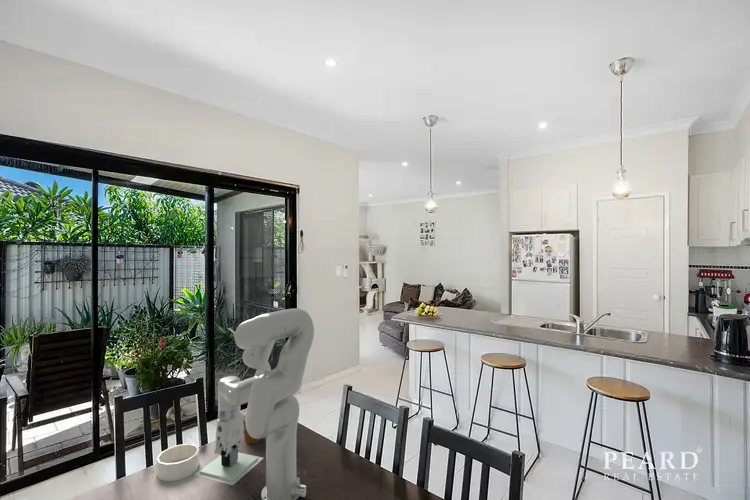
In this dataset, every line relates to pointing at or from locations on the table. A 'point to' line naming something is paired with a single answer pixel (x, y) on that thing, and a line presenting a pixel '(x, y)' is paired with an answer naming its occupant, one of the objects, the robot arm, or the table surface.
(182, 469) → the bowl
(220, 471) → the lid
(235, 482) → the mat
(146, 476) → the table surface
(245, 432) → the disposable coffee cup
